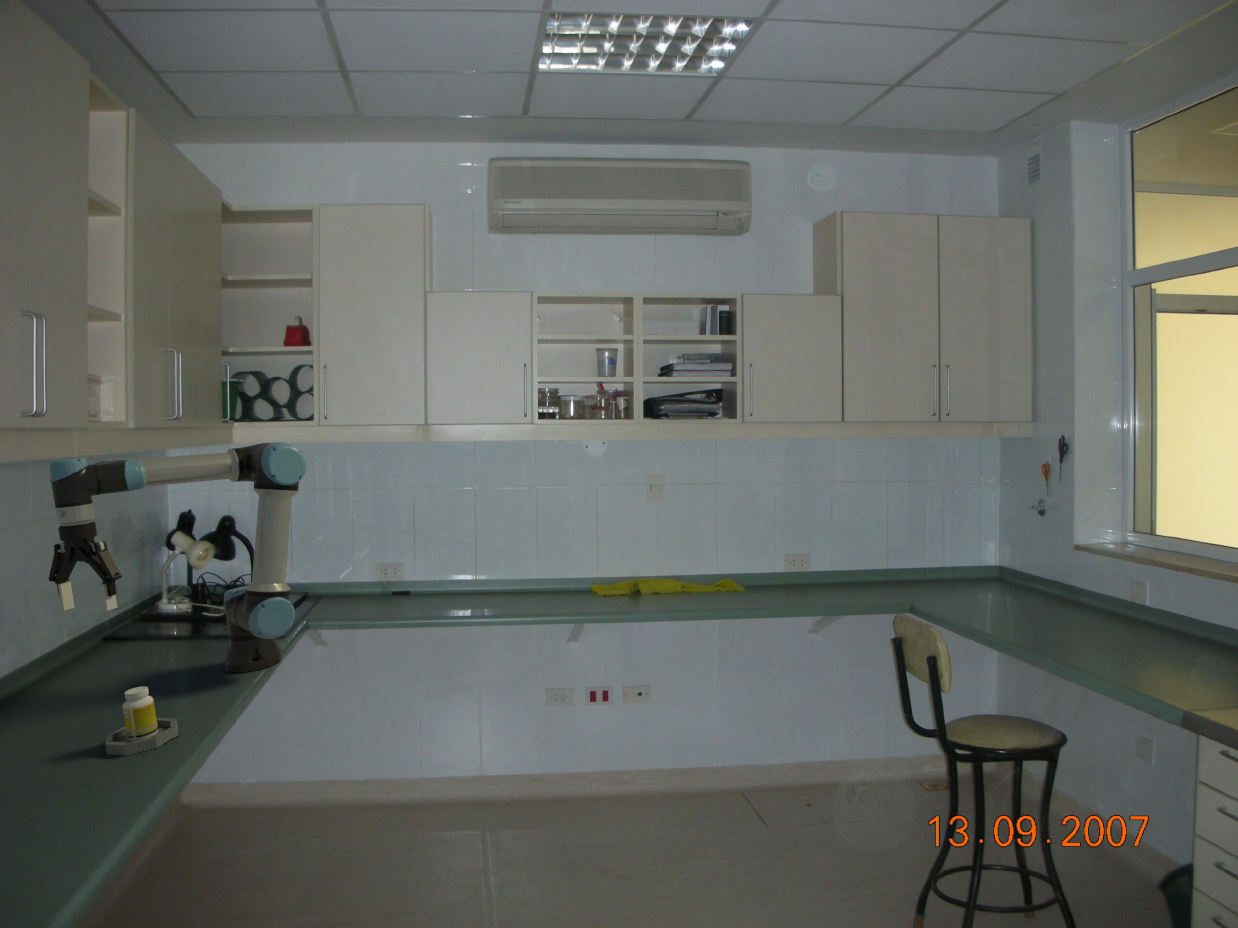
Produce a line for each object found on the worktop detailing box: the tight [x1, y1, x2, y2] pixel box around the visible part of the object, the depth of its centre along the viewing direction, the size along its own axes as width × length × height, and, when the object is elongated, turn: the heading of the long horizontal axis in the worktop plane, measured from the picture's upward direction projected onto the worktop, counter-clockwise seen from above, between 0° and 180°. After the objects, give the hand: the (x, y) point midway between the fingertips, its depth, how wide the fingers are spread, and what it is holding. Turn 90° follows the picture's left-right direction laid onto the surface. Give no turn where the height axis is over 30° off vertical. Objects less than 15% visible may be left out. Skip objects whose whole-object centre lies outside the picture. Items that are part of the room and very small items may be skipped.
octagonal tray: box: [104, 717, 179, 757], centre depth 187 cm, size 14×14×2 cm
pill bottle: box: [122, 686, 158, 741], centre depth 186 cm, size 6×6×11 cm
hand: (89, 609), depth 197 cm, fingers open, 13 cm apart
